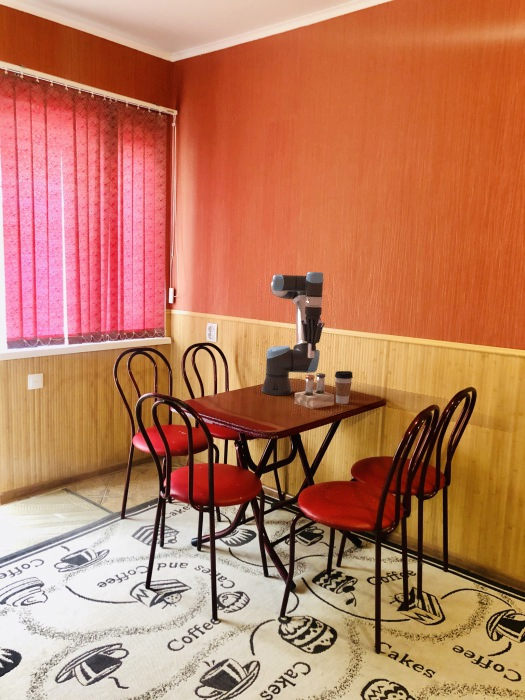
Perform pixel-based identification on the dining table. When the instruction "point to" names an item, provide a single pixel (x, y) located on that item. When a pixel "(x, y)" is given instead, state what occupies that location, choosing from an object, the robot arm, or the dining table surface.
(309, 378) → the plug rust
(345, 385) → the coffee cup
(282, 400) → the dining table surface
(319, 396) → the beech block
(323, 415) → the dining table surface
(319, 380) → the grey capped glass jar
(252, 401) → the dining table surface
